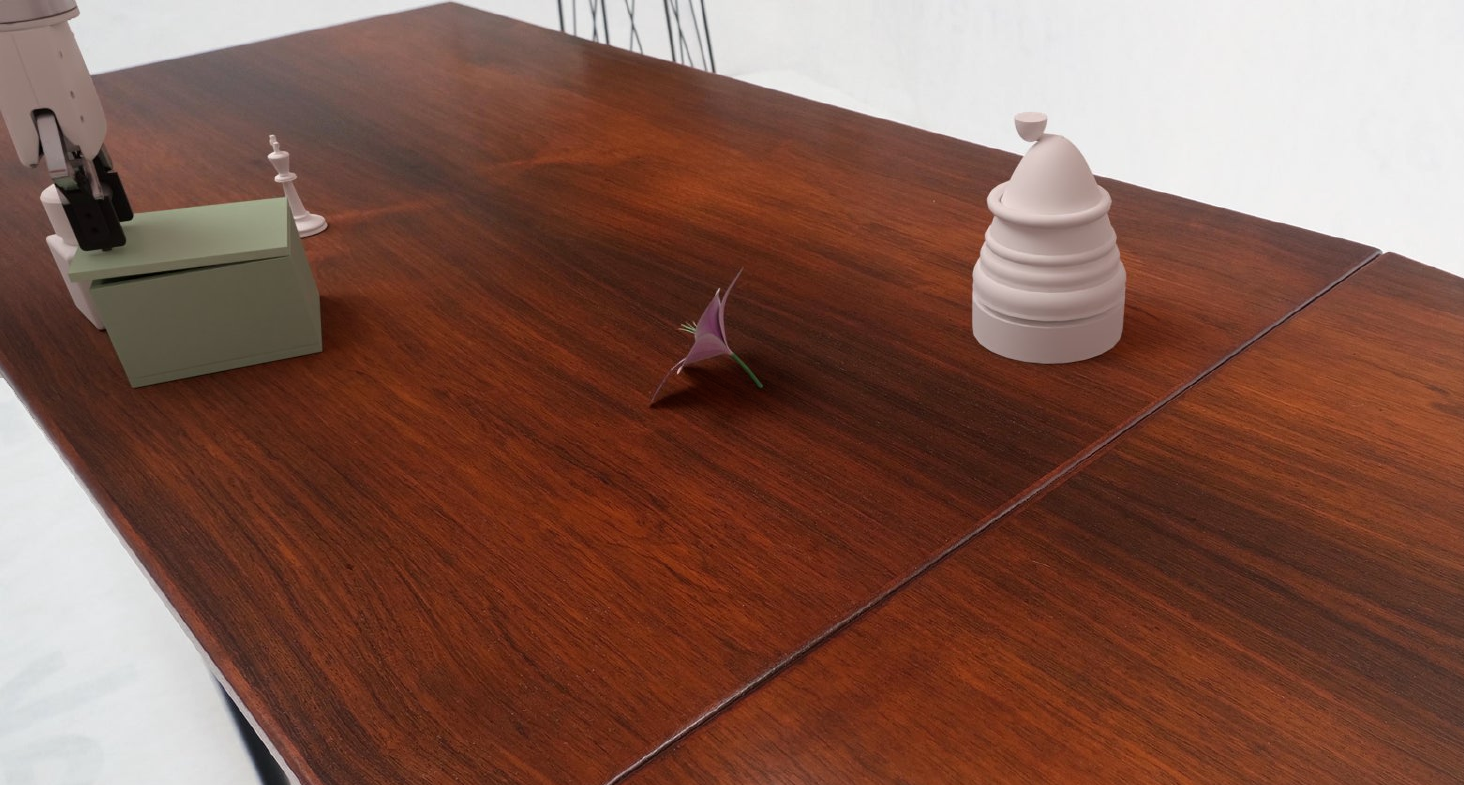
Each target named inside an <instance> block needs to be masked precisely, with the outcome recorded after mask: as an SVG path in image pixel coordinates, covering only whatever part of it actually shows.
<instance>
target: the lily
mask: <svg viewBox="0 0 1464 785" xmlns="http://www.w3.org/2000/svg"><path fill="white" fill-rule="evenodd" d="M744 267H745V266H742V268H741V269H740V271H739V272H738V273H737V274H736V276H735V277H734V278H733V280H732V281H731V283H730V284H729V286H728V287H727V290H726V291H725V294H724V296H723V297H722V299H721V300H720V295H719V294H720V290H721V288H720V287H719V288H718V289H717V290H716V293H715V295H714V297H713V298H712V300H711V302H709V304H708V305H707V307H706V308H705V310H704V311H703V313H702V315H701V317H700V318H699V320H698V322H697V325H696V321H694V320H691V322H692V324H693V325H694V326H695V328H694V327H693V326H692V325H691V324H689V323H688V322H687V321H686V320H685V324H686V325H685V324H683V323H681V324H680V326H681V327H683V328H677V330H678V331H685V332H688V333H690V334H691V333H692V334H694V341H695V342H694V343H693V344H692V347H691V348H690V349H689V352H688V354H687V355H686V357H684V358H683V359H681V360H680V361H679V362H677V364H675V366H673V367H672V368H671V370H670V371H668V373H667V374H666V375H665V376H664V378H663V380H662V381H661V383H660V384H659V386H658V388H657V389H656V391H655V393H654V394H653V397H652V398H651V401H650V402H649V404H648V407H650V405H652V402H653V401H654V399H655V398H656V395H657V394H658V392H659V391H660V390H661V389H662V387H663V385H664V383H665V382H666V380H667V379H668V378H669V377H670V375H671V374H672V373H673V372H674V371H675V370H676V369H677V368H678V370H677V371H676V374H677V375H679V373H681V370H682V369H683V367H685V366H686V365H689V364H692V363H693V364H694V363H696V362H699V361H702V360H705V359H710V358H713V357H717V356H721V355H728V356H730V357H731V358H732V359H733V360H735V361H736V363H738V364H739V365H740V366H741V368H743V369H744V371H745V372H746V373H747V374H748V375H749V377H750V378H751V379H752V380H753V381H754V383H755V384H756V385H757V386H758V388H759V389H762V388H763V387H764V385H763V384H762V383H761V382H760V380H759V379H758V377H756V375H755V374H754V373H753V371H751V369H750V368H749V367H748V366H747V365H746V364H745V363H744V361H742V359H740V358H739V357H738V356H737V355H736V354H735V353H734V352H733V351H732V350H731V349H730V347H729V346H728V341H727V337H726V331H725V322H724V314H725V306H726V301H727V299H728V297H729V294H730V292H731V290H732V289H733V287H734V285H735V283H736V281H737V279H738V278H739V276H740V274H741V273H742V272H743V269H744ZM687 325H688V326H687ZM684 328H687V329H684ZM688 329H689V330H688ZM679 366H680V367H679Z"/></svg>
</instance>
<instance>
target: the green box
mask: <svg viewBox="0 0 1464 785" xmlns="http://www.w3.org/2000/svg"><path fill="white" fill-rule="evenodd" d="M289 249H290V255H288V256H280V257H272V258H264V259H256V260H248V261H240V262H232V263H224V264H217V265H209V266H201V267H193V268H185V269H177V270H169V271H161V272H153V273H145V274H137V275H129V276H121V277H113V278H105V279H97V280H92V283H91V286H90V288H89V292H90V294H91V297H92V299H93V301H94V303H95V306H96V308H97V310H98V312H99V315H100V317H101V319H102V321H103V323H104V326H105V328H106V329H105V330H106V332H107V335H108V337H109V339H110V341H111V343H112V346H113V348H114V350H115V353H116V355H117V357H118V360H119V362H120V364H121V366H122V368H123V370H124V373H125V375H126V377H127V379H128V382H129V384H130V386H131V388H132V389H136V388H142V387H147V386H152V385H156V384H162V383H166V382H171V381H172V382H173V381H177V380H181V379H187V378H192V377H193V378H194V377H198V376H204V375H208V374H213V373H219V372H224V371H229V370H234V369H235V370H236V369H239V368H246V367H249V366H254V365H260V364H265V363H271V362H275V361H281V360H285V359H290V358H295V357H296V358H297V357H301V356H306V355H311V354H316V353H321V352H323V338H322V337H323V336H322V319H321V318H322V317H321V300H320V298H321V297H320V293H319V290H318V287H317V283H316V281H315V277H314V275H313V271H312V268H311V266H310V263H309V259H308V256H307V253H306V250H305V247H304V245H303V241H302V238H300V235H299V232H298V229H297V226H296V223H295V220H294V217H293V214H292V211H291V208H290V206H289Z"/></svg>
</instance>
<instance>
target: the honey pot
mask: <svg viewBox="0 0 1464 785" xmlns="http://www.w3.org/2000/svg"><path fill="white" fill-rule="evenodd" d="M1047 125H1048V115H1047V114H1045V113H1042V112H1037V111H1028V112H1027V111H1026V112H1020V113H1018V114H1016V115H1014V127H1015V130H1016V132H1017V134H1018V136H1019V137H1020V138H1021V140H1023V141H1024V142H1027V143H1034V142H1035V143H1034V144H1033V145H1032V146H1031V147H1030V148H1028V150H1027V151H1026V152H1025V154H1024V155H1023V156H1022V158H1021V160H1020V161H1019V163H1018V164H1017V166H1016V168H1015V170H1014V171H1013V173H1012V175H1011V177H1010V179H1009V180H1007V181H1004V182H1002V183H1000V184H998V185H997V186H995V187H994V188H993V189H991V191H990V192H989V194H988V195H987V198H986V203H987V204H986V205H987V209H988V211H990V212H991V214H993V219H992V221H991V223H990V224H989V226H988V228H987V229H986V231H985V233H984V240H985V241H984V242H983V244H982V246H981V248H980V252H979V255H980V256H979V257H978V259H977V261H976V262H975V265H974V267H973V271H972V285H971V286H972V294H971V298H972V299H971V301H972V302H971V311H972V313H971V316H972V317H971V318H972V319H971V322H972V324H971V327H972V335H973V337H974V338H975V339H976V341H977V342H978V343H979V345H981V346H982V347H984V348H985V349H987V350H988V351H990V352H991V353H994V354H996V355H998V356H1001V357H1004V358H1006V359H1011V360H1015V361H1019V362H1023V363H1033V364H1043V365H1045V364H1047V365H1048V364H1049V365H1050V364H1051V365H1052V364H1068V363H1074V362H1080V361H1081V362H1082V361H1085V360H1089V359H1092V358H1095V357H1097V356H1100V355H1101V356H1102V355H1103V354H1104V353H1106V352H1108V351H1110V350H1111V349H1114V347H1115V346H1116V345H1117V344H1118V342H1119V341H1120V340H1121V339H1122V338H1121V337H1122V333H1123V328H1124V317H1125V316H1124V314H1125V303H1126V302H1125V301H1126V295H1125V294H1126V283H1127V271H1126V268H1125V266H1124V264H1123V262H1122V260H1121V251H1120V249H1119V246H1118V244H1117V240H1118V237H1117V233H1116V231H1115V229H1114V227H1113V226H1112V225H1111V221H1110V218H1109V214H1108V213H1109V211H1110V209H1111V206H1112V203H1113V202H1112V198H1111V195H1110V192H1108V190H1106V188H1104V187H1103V186H1101V185H1099V184H1098V183H1097V181H1096V178H1095V176H1094V173H1093V172H1092V169H1091V167H1090V166H1089V164H1088V162H1087V160H1086V158H1085V156H1084V155H1083V154H1082V152H1081V150H1080V149H1079V148H1078V146H1076V145H1075V144H1074V143H1073V142H1072V141H1071V140H1070V139H1069V138H1067V137H1065V136H1064V135H1062V134H1054V133H1053V134H1052V133H1045V130H1046V128H1047Z"/></svg>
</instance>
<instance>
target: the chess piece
mask: <svg viewBox="0 0 1464 785" xmlns="http://www.w3.org/2000/svg"><path fill="white" fill-rule="evenodd" d="M268 138H269V140H268V142H269V145H270V146H271V147H272V149H273V151H272V152H271V153H269V154H268V155H267V159H268V161H269V162H270V164H271V165H272V166H273V168H274V170H276V171H277V173H278V174H277V175H276V176H274V182H275V183H281V184H282V188H283V193H284V197H287V198H288V202H289V206H290V208H291V211H292V214H293V217H294V220H295V223H296V226H297V229H298V232H299V235H300V238H301V239H302V238H308V237H310V236H315V235H317V234H320V233H322V232H323V231H325V230H326V229H327V228H328V223H327V222H326V218H325V217H324V216H322V215H319V214H315V213H310V211H309V210H306V208H305V207H304V204H303V202H302V200H301V198H300V196H299V194H298V191H297V189H296V188H295V187H296V186H295V185H294V183H293V181H294V180H297V178H298V176H297V174H296V173H294V172H290V153H289V152H288V151H286V150H280V148H281V145H280V143H279V142H278V141H277V137H276V135H275V134H270V135H268Z"/></svg>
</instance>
